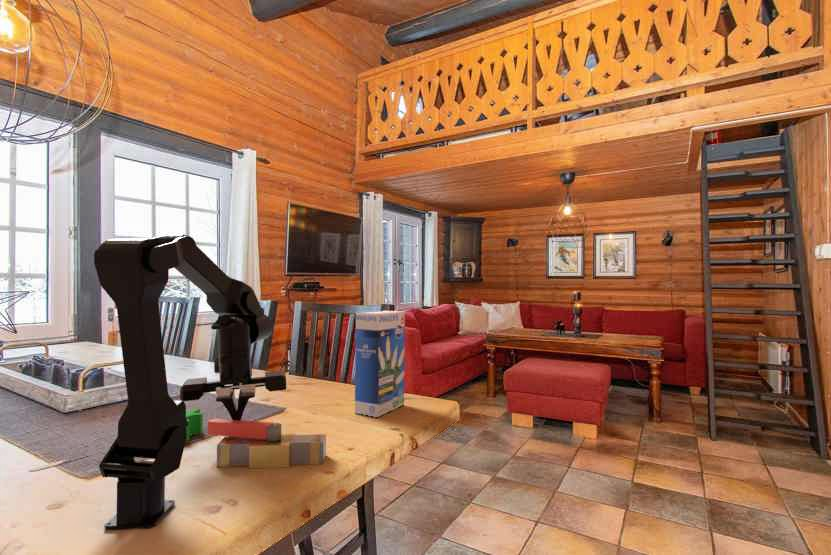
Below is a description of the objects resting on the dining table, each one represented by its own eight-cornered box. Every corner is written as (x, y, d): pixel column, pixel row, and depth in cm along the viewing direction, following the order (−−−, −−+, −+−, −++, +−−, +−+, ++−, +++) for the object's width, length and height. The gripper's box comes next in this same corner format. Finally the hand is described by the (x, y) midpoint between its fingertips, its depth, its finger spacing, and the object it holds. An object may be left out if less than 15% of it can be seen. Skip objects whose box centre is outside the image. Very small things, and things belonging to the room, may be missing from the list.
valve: (322, 466, 78) (322, 444, 78) (214, 469, 76) (214, 446, 76) (326, 453, 84) (326, 432, 84) (226, 455, 82) (226, 434, 82)
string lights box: (377, 418, 105) (378, 313, 105) (352, 413, 109) (353, 312, 109) (405, 405, 116) (406, 310, 116) (382, 401, 120) (383, 309, 120)
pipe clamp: (177, 448, 86) (177, 425, 86) (160, 447, 86) (160, 424, 86) (210, 428, 97) (210, 408, 97) (195, 428, 98) (195, 408, 98)
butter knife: (26, 467, 76) (30, 470, 74) (183, 428, 97) (189, 430, 96) (26, 470, 76) (30, 473, 74) (183, 430, 97) (189, 432, 96)
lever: (283, 436, 81) (284, 422, 81) (276, 441, 78) (277, 427, 78) (215, 431, 83) (215, 417, 83) (205, 436, 81) (206, 422, 81)
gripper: (282, 338, 94) (285, 408, 95) (188, 345, 88) (191, 420, 88) (285, 348, 84) (287, 426, 84) (178, 356, 77) (181, 441, 78)
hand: (237, 427), depth 84 cm, fingers closed
